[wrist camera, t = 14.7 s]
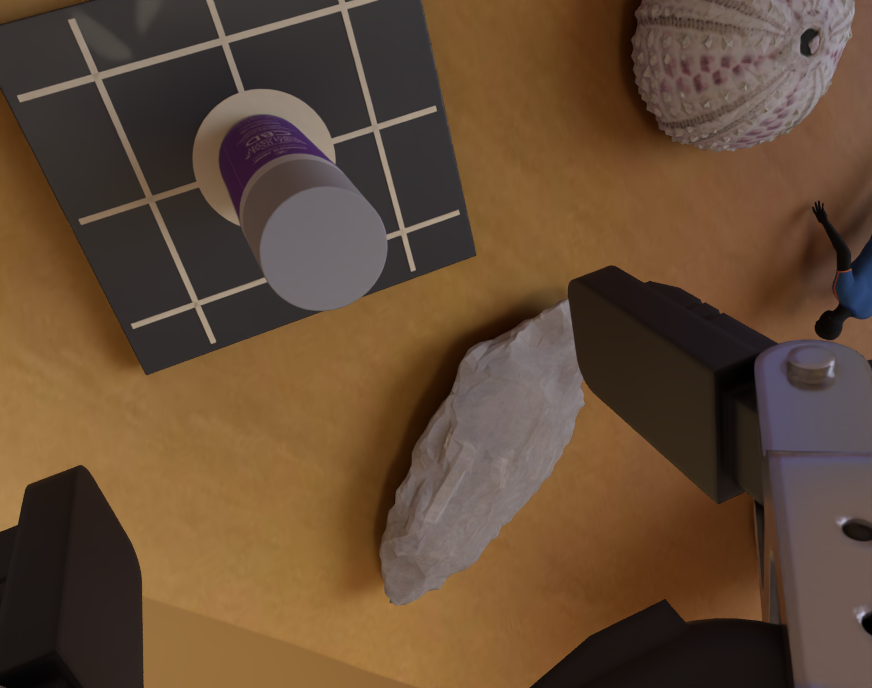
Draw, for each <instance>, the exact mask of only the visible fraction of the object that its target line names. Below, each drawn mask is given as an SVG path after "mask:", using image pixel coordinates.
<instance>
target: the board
mask: <svg viewBox="0 0 872 688" xmlns="http://www.w3.org/2000/svg"><path fill="white" fill-rule="evenodd" d="M0 88H1V90H2V92H3V94H4V96H5V98H6V100H7V102H8V104H9V106H10V108H11V110H12V112H13V114H14V116H15V118H16V120H17V122H18V124H19V126H20V128H21V130H22V132H23V134H24V136H25V138H26V140H27V142H28V144H29V145H30V147H31V149H32V151H33V153H34V155H35V157H36V159H37V161H38V163H39V165H40V167H41V169H42V171H43V173H44V175H45V177H46V179H47V181H48V183H49V185H50V187H51V189H52V191H53V193H54V195H55V197H56V199H57V201H58V203H59V205H60V207H61V209H62V211H63V213H64V214H65V216H66V218H67V220H68V222H69V224H70V226H71V228H72V230H73V232H74V234H75V236H76V238H77V240H78V242H79V244H80V246H81V248H82V250H83V252H84V254H85V256H86V258H87V260H88V262H89V264H90V266H91V268H92V270H93V272H94V274H95V276H96V278H97V280H98V282H99V284H100V285H101V287H102V289H103V291H104V293H105V295H106V297H107V299H108V301H109V303H110V305H111V307H112V309H113V311H114V313H115V315H116V317H117V319H118V321H119V323H120V325H121V327H122V329H123V331H124V333H125V335H126V337H127V339H128V341H129V343H130V345H131V347H132V349H133V351H134V353H135V354H136V356H137V358H138V360H139V362H140V364H141V366H142V368H143V370H144V372H145V374H146V375H149V374H151V373H154V372H157V371H160V370H162V369H165V368H168V367H171V366H173V365H176V364H179V363H182V362H184V361H187V360H190V359H193V358H195V357H198V356H201V355H204V354H206V353H209V352H212V351H215V350H217V349H220V348H223V347H226V346H228V345H231V344H234V343H237V342H239V341H242V340H245V339H248V338H251V337H253V336H256V335H259V334H262V333H264V332H267V331H270V330H273V329H275V328H278V327H281V326H284V325H286V324H289V323H292V322H295V321H297V320H300V319H303V318H306V317H308V316H311V315H314V314H317V313H319V312H322V311H313V310H307V309H303V308H300V307H297V306H294V305H292V304H290V303H289V302H287V301H285V300H284V299H282V298H281V297H280V296H279V295H278V294H277V293H275V291H274V290H273V289H272V288H271V287H270V285H269V284H268V282H267V281H266V279H265V277H264V275H263V273H262V271H261V268H260V266H259V264H258V262H257V260H256V258H255V256H254V254H253V252H252V250H251V248H250V246H249V244H248V242H247V240H246V238H245V236H244V234H243V231H242V228H241V226H240V223H239V220H238V218H237V215H236V213H235V210H234V207H233V205H232V202H231V199H230V197H229V194H228V192H227V189H226V186H225V184H224V181H223V178H222V176H221V172H220V168H219V161H218V156H219V149H220V145H221V142H222V140H223V138H224V136H225V134H226V133H227V131H228V130H229V129H230V128H231V127H232V126H233V125H234V124H235V123H237V122H238V121H240V120H241V119H243V118H246V117H248V116H252V115H256V114H270V115H275V116H278V117H281V118H283V119H285V120H287V121H289V122H290V123H292V124H293V125H294V126H296V127H297V128H298V129H299V130H300V131H301V132H302V133H303V134H304V135H305V136H306V137H307V138H308V139H309V140H310V141H311V142H312V143H313V144H314V145H315V146H317V147H318V148H319V149H320V150H321V151H322V152H323V153H324V154H325V155H326V156H327V157H328V158H329V159H330V160H331V161H332V162H333V163H334V164H335V165H336V166H337V167H338V168H339V169H340V170H341V171H342V172H343V173H344V174H345V175H346V177H347V178H348V179H349V180H350V181H351V182H352V184H353V185H354V186H355V187H356V188H357V189H358V190H359V192H360V193H361V194H362V195H363V196H364V197H365V199H366V200H367V201H368V202H369V203H370V204H371V205H372V207H373V208H374V209H375V210H376V212H377V213H378V215H379V216H380V218H381V220H382V222H383V225H384V227H385V231H386V235H387V256H386V261H385V264H384V267H383V270H382V272H381V274H380V276H379V278H378V279H377V281H376V282H375V284H374V285H373V286H372V287H371V289H370V290H369V291H368V292H367V293H366V294H364V295H363V296H366V295H369V294H372V293H374V292H377V291H380V290H383V289H385V288H388V287H391V286H394V285H396V284H399V283H402V282H405V281H407V280H410V279H413V278H416V277H418V276H421V275H424V274H427V273H429V272H432V271H435V270H438V269H440V268H443V267H446V266H449V265H451V264H454V263H457V262H460V261H462V260H465V259H468V258H471V257H473V256H476V251H475V246H474V242H473V237H472V232H471V228H470V223H469V218H468V214H467V209H466V205H465V200H464V195H463V191H462V186H461V181H460V177H459V172H458V168H457V163H456V158H455V154H454V149H453V144H452V140H451V135H450V131H449V126H448V121H447V117H446V112H445V108H444V103H443V98H442V94H441V89H440V84H439V80H438V75H437V71H436V66H435V61H434V57H433V52H432V47H431V43H430V38H429V34H428V29H427V24H426V20H425V15H424V10H423V6H422V1H421V0H90V1H86V2H83V3H79V4H75V5H71V6H68V7H64V8H60V9H56V10H52V11H49V12H45V13H41V14H37V15H34V16H30V17H26V18H22V19H18V20H15V21H11V22H7V23H3V24H0ZM363 296H362V297H363Z"/></svg>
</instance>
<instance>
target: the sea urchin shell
mask: <svg viewBox="0 0 872 688" xmlns="http://www.w3.org/2000/svg"><path fill="white" fill-rule="evenodd" d="M854 12H855V8H854V0H642V2H641V5H640V7H639V8H638V9H637V10H636V11H635V14H634V15H635V16H636V18H637V24H638V25H637V29H636V33H635V34H634V36H633V37H632V39H631V42H632V43H633V52H632V55H631V57H632V59H633V61H634V63H635V64H634V67H633V71H634V72H635V75H636V78H635V83H636V84H637V85H638V86H639V89H638V93H639V94H640V95H642V100H644V101H645V102H646V103H647V109H646V110H648V111H650V112H652V113H654V114H655V115H656V120H657V121H658V124H659V130H663V131H665V133H666V135H670V136H672V142H677V141H679V142H680V143H681V144H688V145H691V144H693V145H694V146H695V147H696V148H699V149H700V148H701V149H702V150H706V149H711V150H712V151H713V152H714V153H715V152H721V151H722V150H724V149H726V150H728V151H729V150H731V151H734V150H736V149H738V148H739V149H740V148H745V147H747V148H749V149H750V148H752V147H753V146H754V145H756V144H761V143H763V142H764V141H768V142H771V141H772V140H773V139H774V138H775V137H776V136H777V135H782V134H788V133H789V132H790V130H791V129H792V128H794V127H795V126H797V125H798V124H799V123H800V122H801V121H802V120H803V118H805V117H806V116H807V115H809V114H810V112H811V110H812V109H814V107H815V105H816V103H817V102H818V100H819V98H821V97H822V96H824V93H826V92H827V91H828V86H830V85H831V84H832V83H831V78H832V76H833V74H834V72H835V70H836V67H837V64H838V61H839V59H840V56H841V54H842V52H843V49H844V47H845V45H846V42H847V41H848V40H849V39H850V38H851V37H852V32H851V27H850V26H851V24H852V20H853V16H854Z"/></svg>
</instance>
